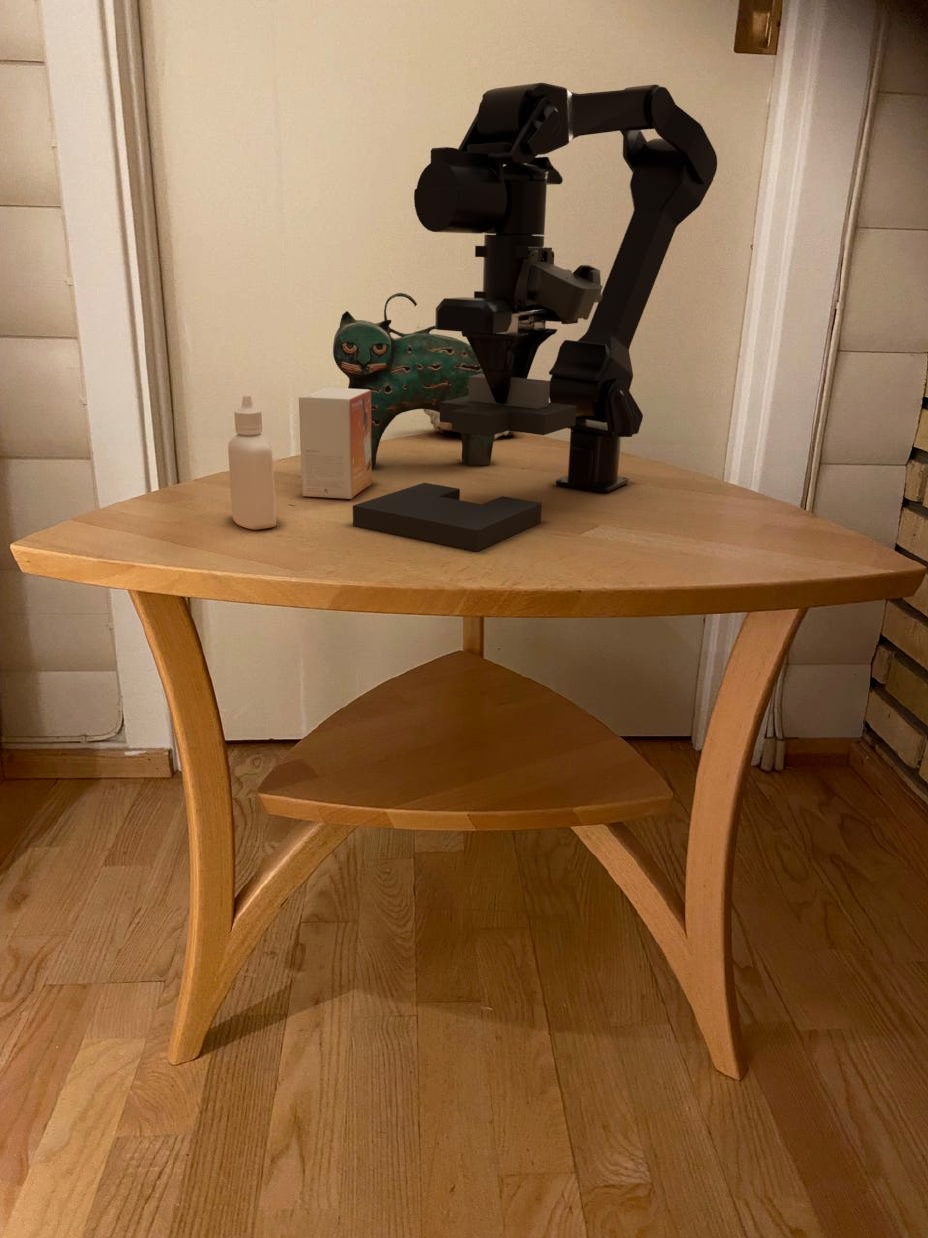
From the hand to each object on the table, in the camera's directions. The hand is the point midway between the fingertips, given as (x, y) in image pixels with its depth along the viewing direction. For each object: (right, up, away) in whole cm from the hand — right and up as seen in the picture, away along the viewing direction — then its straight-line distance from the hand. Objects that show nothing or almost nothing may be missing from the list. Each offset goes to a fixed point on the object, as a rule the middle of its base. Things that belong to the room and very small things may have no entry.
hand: (507, 401), depth 97 cm
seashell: (-3, +4, +40) cm, 41 cm away
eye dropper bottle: (-25, -13, -5) cm, 28 cm away
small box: (-18, -8, +8) cm, 21 cm away
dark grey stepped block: (-1, -3, -1) cm, 3 cm away
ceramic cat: (-10, -3, +21) cm, 24 cm away
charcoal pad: (-6, -13, -4) cm, 15 cm away
